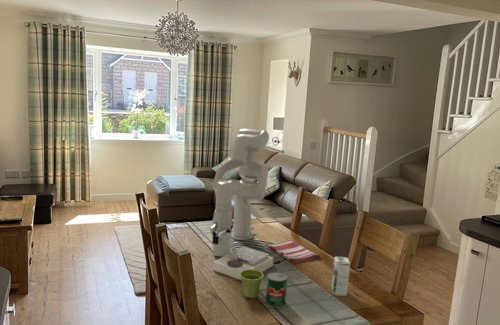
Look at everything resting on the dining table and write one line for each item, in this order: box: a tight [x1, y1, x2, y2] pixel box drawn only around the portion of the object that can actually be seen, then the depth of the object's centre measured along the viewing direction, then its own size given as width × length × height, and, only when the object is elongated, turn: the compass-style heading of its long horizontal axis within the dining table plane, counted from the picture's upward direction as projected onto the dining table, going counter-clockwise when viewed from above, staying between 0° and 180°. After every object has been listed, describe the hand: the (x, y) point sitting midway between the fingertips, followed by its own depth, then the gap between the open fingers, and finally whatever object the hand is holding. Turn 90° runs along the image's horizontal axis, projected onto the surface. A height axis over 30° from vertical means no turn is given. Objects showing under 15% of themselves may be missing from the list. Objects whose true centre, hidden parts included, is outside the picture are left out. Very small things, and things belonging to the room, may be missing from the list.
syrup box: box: [330, 256, 351, 297], centre depth 170 cm, size 6×6×14 cm
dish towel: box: [266, 240, 321, 265], centre depth 211 cm, size 17×23×3 cm
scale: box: [212, 255, 274, 281], centre depth 190 cm, size 22×18×5 cm
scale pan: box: [227, 246, 271, 265], centre depth 192 cm, size 13×15×1 cm
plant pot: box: [240, 270, 264, 299], centre depth 165 cm, size 9×9×9 cm
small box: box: [212, 231, 232, 257], centre depth 203 cm, size 8×6×10 cm
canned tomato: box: [264, 271, 288, 308], centre depth 159 cm, size 8×8×11 cm
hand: (221, 241), depth 202 cm, fingers open, 9 cm apart
